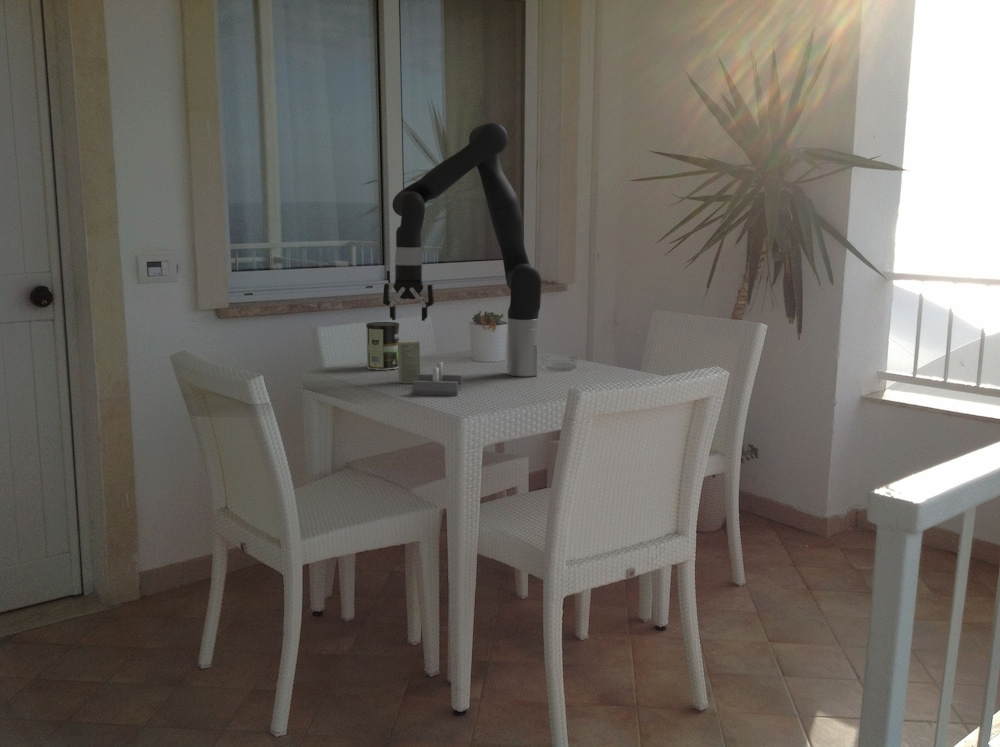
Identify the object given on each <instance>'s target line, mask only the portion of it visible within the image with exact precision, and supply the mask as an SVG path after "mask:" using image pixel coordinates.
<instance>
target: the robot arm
mask: <svg viewBox="0 0 1000 747" xmlns="http://www.w3.org/2000/svg"><path fill="white" fill-rule="evenodd" d="M508 142H509V135H508V132H507V130H506V129H505V127H504V126H503V125H501V124H500V123H497V122H486V123H484V124H481V125H478V126H475V127H474V128H472V130H471V132H470V133H469V137H468V144H467V145H466V146H464V147H463V148H462V149H461V150H459V151H458V152H456V153H455V154H453V155H452V156H450V157H448V158H446V159H445V160H443V161H442V162H440V163H439V164H437V165H435V166H434V167H433V168H432V169H431V170H430V171H429V170H428V172H427V173H425V175H423V176H422V177H421V178H420V179H418V180H417V181H415V182H413V183H412V184H410V185H408V186H407V187H404V188H403V189H402V190H400V191H399V192H397V194H396V195H395V196H394V197H393V200H392V206H391V207H392V209H393V211H394V213H395V214H396V215H398V216H400V217H401V219H400V226H398V227H397V228H396V232H395V256H394V258H395V259H394V265H395V266H394V269H395V270H394V272H395V273H394V274H395V275H394V276H395V277H394V278H395V280H394V281H395V282H394V283H389V282H387V283H385V284H383V300H382V303H383V305H384V306H388V307H389V317H390V319H391V320H392V321H396V317H397V313H396V312H397V310H396V309H397V307H396V304H398V301H400V299H402V300H407V299H409V300H415V299H416V301H417V302H419V304H420V305H421V306H422V307H421V321H422V322H424V321H426V319H427V318H428V308H429V307H432V306H433V305H434V303H435V295H434V285H433V284H432V283H429V284H423V280H422V279H423V278H422V277H423V269H422V268H423V255H422V248H421V247H422V228H423V224H424V219H425V212H426V205H425V204H426V203H427V202H429V201H432V200H435V199H437V198H439V197H440V196H441V195H442V194H443V193H445V192H446V191H447V190H448V189H450V188H451V187H452V186H453V185H454V184H456V183H457V182H458V181H459V180H460V179H462V178H463V177H464V176H465V175H466V174H468V173H469V172H470V171H472V170H473V169H475V168H477V170H478V173H479V177H480V182H481V184H482V188H483V193H484V195H485V196H484V197H485V200H486V204H487V208H488V213H489V216H490V220H491V223H492V227H493V231H494V233H495V237H496V239H497V240H496V241H497V243H498V247H499V248H500V252H501V256H502V262H503V268H504V274H505V281H506V285H507V287H508V289H509V290H510V302H509V307H508V309H507V345H506V346H507V348H506V349H507V350H506V351H507V353H506V354H507V355H506V357H507V358H506V359H507V361H506V364H507V366H506V373H507V375H509V376H513V377H538V372H539V371H538V369H539V364H538V363H539V313H540V309H541V300H542V298H541V297H542V278H541V274H540V272H539V271H538V270H537V269H536V267H533V266H531V263H530V260H529V258H528V255H527V251H526V248H525V240H524V237H525V235H524V233H525V232H524V219H523V212H522V209H521V205H520V201H519V199H518V196H517V193H516V192H515V190H514V187H513V186H512V185H511V183H510V182H509V180H508V179H507V177H506V175H505V173H504V171H503V169H502V168H503V167H502V164H501V160H500V156H499V154H501V153H502V152H503V151H504V150H505V149H506V147H507V146H508ZM392 290H394V291H395V292H396V295H395V296H394V297H393V298H392V300H390V292H391V291H392ZM423 290H424V291H425V292H426V293H427V297H428V298H427V300H428V301H426V299H424V297H423V295H422V294H421V292H422V291H423Z"/></svg>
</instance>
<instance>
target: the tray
mask: <svg viewBox="0 0 1000 747" xmlns="http://www.w3.org/2000/svg"><path fill="white" fill-rule="evenodd" d="M443 369H444V362H443V361H442V362H441V361H438V362H437V364H436V367H432V373H420V374H419V381H413V383H412V395H413V396H445V395H449V396H451V397H452V396H456V397H457V396H458V395H459V393H460V392H461V390H462V388H463V375H462V374H445V373H444V370H443ZM459 391H460V392H459Z"/></svg>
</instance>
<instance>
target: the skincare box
mask: <svg viewBox="0 0 1000 747" xmlns="http://www.w3.org/2000/svg"><path fill="white" fill-rule="evenodd" d="M420 344H421V342H420V340H419V339H404V340H403V339H402V340H400V339H399V340H398V369H397V370H398V371H397V372H398V383H399V384H400V383H403V384H413V381H419V374H421V348H420Z"/></svg>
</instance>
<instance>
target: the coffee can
mask: <svg viewBox="0 0 1000 747" xmlns="http://www.w3.org/2000/svg"><path fill="white" fill-rule="evenodd" d="M365 326H366V355H367V356H366V357H367V359H366V360H367V362H366V363H367V367H366V368H370V369H376V370H375V371H378V370H386V371H389V370H388V369H396V370H398V369H397V368H398V340H400V323H398V322H395V321H374V322H373V321H372V322H367V323H366V325H365ZM370 369H369V370H370Z"/></svg>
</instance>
